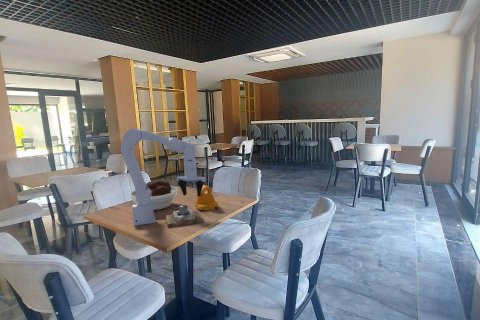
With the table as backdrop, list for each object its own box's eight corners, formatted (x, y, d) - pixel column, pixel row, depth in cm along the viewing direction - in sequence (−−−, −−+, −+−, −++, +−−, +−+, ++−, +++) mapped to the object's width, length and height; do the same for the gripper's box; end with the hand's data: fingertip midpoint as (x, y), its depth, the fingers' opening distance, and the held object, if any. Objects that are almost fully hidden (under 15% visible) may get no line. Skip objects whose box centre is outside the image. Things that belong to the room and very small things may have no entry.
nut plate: (167, 227, 115) (167, 220, 115) (165, 218, 127) (165, 211, 126) (203, 221, 121) (202, 214, 120) (198, 213, 132) (198, 206, 131)
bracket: (200, 211, 135) (198, 189, 133) (195, 208, 141) (194, 186, 139) (218, 207, 140) (217, 186, 138) (213, 204, 146) (212, 183, 144)
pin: (184, 222, 121) (183, 207, 120) (177, 221, 123) (176, 206, 122) (189, 219, 124) (189, 205, 123) (183, 218, 126) (182, 204, 125)
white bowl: (141, 219, 127) (138, 189, 124) (125, 207, 146) (123, 181, 144) (187, 207, 142) (185, 180, 140) (167, 198, 161) (166, 174, 159)
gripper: (172, 169, 124) (174, 197, 126) (200, 170, 120) (202, 198, 122) (179, 167, 130) (181, 193, 132) (206, 167, 126) (208, 194, 128)
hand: (192, 195), depth 127 cm, fingers open, 7 cm apart
